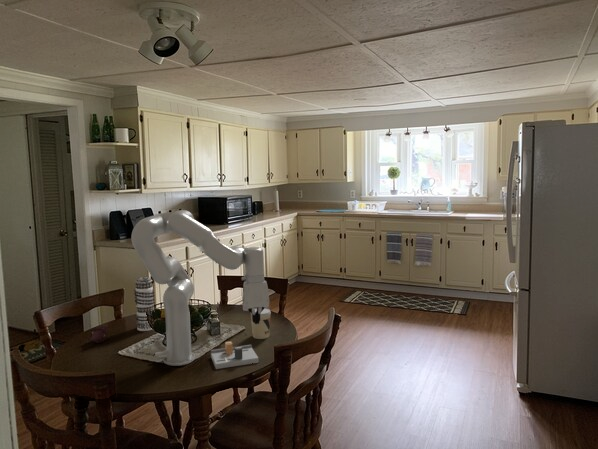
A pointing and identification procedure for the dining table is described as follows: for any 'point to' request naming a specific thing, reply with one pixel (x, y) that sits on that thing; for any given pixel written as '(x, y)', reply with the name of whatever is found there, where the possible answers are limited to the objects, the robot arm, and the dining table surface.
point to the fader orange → (229, 347)
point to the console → (233, 357)
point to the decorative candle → (143, 302)
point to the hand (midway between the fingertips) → (256, 322)
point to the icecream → (99, 334)
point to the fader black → (238, 352)
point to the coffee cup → (261, 325)
